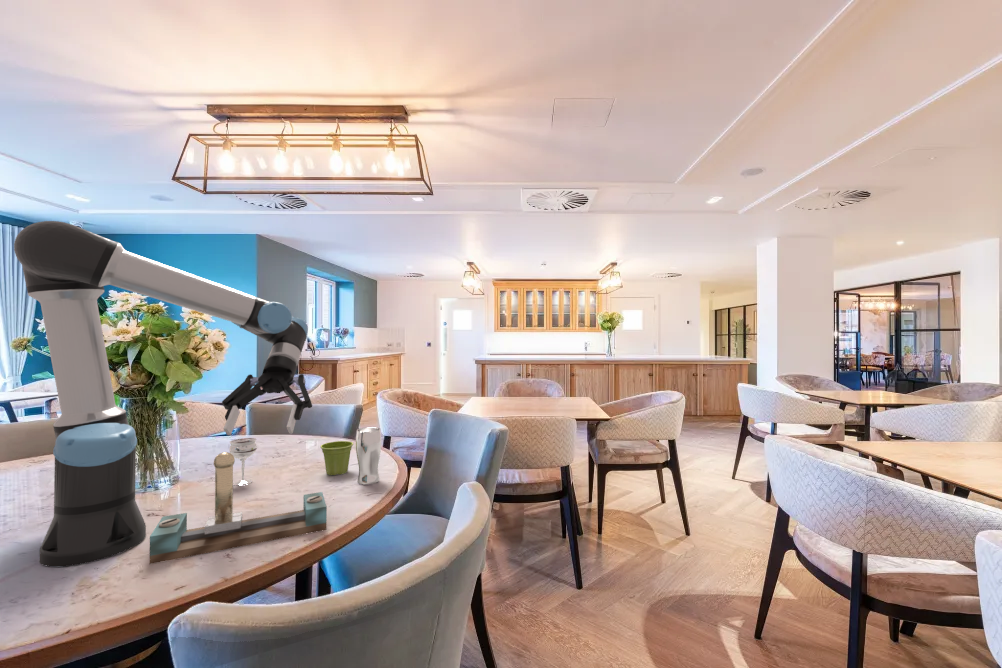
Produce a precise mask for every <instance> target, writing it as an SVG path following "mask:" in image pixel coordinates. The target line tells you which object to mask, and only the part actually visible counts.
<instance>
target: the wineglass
mask: <svg viewBox="0 0 1002 668" xmlns="http://www.w3.org/2000/svg"><path fill="white" fill-rule="evenodd" d="M256 441H257V438H254V437H245V438H243V437H242V438H237V439H233V440H230V441H229V444H230V445H229V453H231V454H232V455H233V456H234V458H235V459H238V460H239V461H240V462H241V477H242V478H241V480H238V481H234V482H233V484H234V485H233V486H236V485H239V486H244V485H243V484H246V485H248V484H247V483H250V482H252V479H245V464H246V463H245V462H246V460H247V459H248V458H250V457H251V456H253V454H254V453H256V451H257V448H258V447H257V446H258V445H257V442H256ZM252 483H253V482H252ZM250 484H251V483H250Z"/></svg>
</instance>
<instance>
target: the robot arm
mask: <svg viewBox="0 0 1002 668" xmlns="http://www.w3.org/2000/svg"><path fill="white" fill-rule="evenodd" d="M13 250H14V254H15V257H16V259H17V261H19V264H20V265H21V267H22V270H23V271H22V272H23V276H24V281H25V286H26V290H27V292H26V293H27V296H29V297H30V298H33V299H34V300H36V301H38V302H39V304H40V306H41V307H40V308H41V313H42V318H43V323H44V329H45V333H46V339H47V345H48V350H49V355H50V360H51V365H52V371H53V376H54V382H55V386H56V391H57V398H58V402H59V406H60V413H61V414H60V417H58V419H57V420H56V421H55V422H54V423H53V432H54V436H55V442H54V447H53V449H52V451H53V452H52V454H53V456H54V477H53V478H54V483H53V484H54V485H53V486H54V488H53V489H54V490H53V516H52V517H53V518H52V520H51V522H50V525H49V527H48V529H47V531H46V534H45V536H44V538H43V541H42V543H41V546H40V548H39V563H40V564H41V565H42V564H43V565H42V566H44V565H47V566H46V567H50V566H63V567H69V566H79V565H82V564H89V563H92V562H96V561H100V560H104V559H107V558H110V557H113V556H116V555H119V554H121V553H124V552H125V551H127V550H128V551H129V550H130V549H132V548H134V547H136V546H137V545H138V544H141V542H143V541H144V539H145V538H146V536H147V525H146V522H145V519H144V518H143V516H142V513H141V510H140V507H139V506H138V503H137V501H136V470H137V469H136V466H137V465H136V464H137V463H136V462H137V461H136V459H137V457H136V456H137V453H136V452H137V449H136V448H137V445H138V439H137V434H136V430H135V428H134V427H133V426H132V425H129V421H128V415H127V410H126V409H124V408H122V407H120V406H118V405H117V404H116V399H115V394H114V388H113V383H112V378H111V372H110V371H111V370H110V367H109V366H110V365H109V361H108V355H107V350H106V344H105V338H104V334H103V328H102V322H101V316H100V311H99V304H98V299H99V298H100V297H101V296H102V295H103V294H104V293H105V287H104V286H109V285H110V286H113V287H116V288H119V289H123V290H126V291H130V292H133V293H135V294H140V295H142V296H146V297H149V298H152V299H156V300H159V301H162V302H165V303H168V304H172V305H175V306H177V307H178V306H179V307H182V308H186V309H188V310H192V311H195V312H199V313H202V314H206V315H209V316H212V317H215V318H218V319H221V320H225V321H228V322H231V323H232V324H234V325H236V326H237V327H239V328H240V329H242V330H245V331H247V332H248V333H251V334H253V335H254V336H257V337H258V338H261V339H263V340H264V341H266V342H268V343H270V344H272V346H271V350H270V352H269V354H268V357H267V359H266V362H265V365H264V367H263V369H262V374H260V376H259V377H258V376H253V374H248V375H247V376H246V378H245V379H244V381H243V382H242V383H241V384H239V386H237V387H236V388H235V389H234V390H233V391H232V392H231V393H230V394H228V395H227V396H226V397H225V398H224V399H223V400H222V401H221V404H222V406H223V407H224V409H225V410H227V411H226V413H225V416H224V419H225V421H226V422H225V424H224V427H223V431H224V432H225V434H226V436H231V435H232V433H233V430H234V428H235V426H236V423H237V421H238V418H239V416H240V413H241V412H240V409H241V408H243V407H245V406H246V405H248V404H249V403H250V402H252V401H253V400H255V399H256V398H258V397H259V396H260V397H261V396H263V395H265V394H266V393H267V394H274V393H275V394H281V393H282V392H284V394H285V395H286V396H288V397H289V399H290V400H291V401H292V403H293V404H292V407H291V411H290V413H289V418H288V420H287V423H286V429H287V431H288V433H289V434H293V433H294V429H295V427H296V426H295V425H296V423H297V421H300V420H301V418H302V415H303V411H304V410H305V409H306V408H308V409H311V408H312V407H313V404H312V401H311V397H310V395H309V393H308V390H307V387H306V379H305V376H304V374H303V373H300V374H299V375H298V376H295V374H296V371H297V369H298V365H299V361H300V357H301V356H302V352H303V348H304V346H305V343H306V341H307V336H308V334H309V333H308V332H309V327H308V324H307V323H306V322H305V320H304V319H302V318H300V317H295V316H293V314H292V312H291V310H290V309H289V307H288V306H287V305H286V304H284V303H281V302H277V301H268V300H266V299H264V298H260V297H258V296H257V297H256V296H254V295H251V294H250V293H249V294H248V293H247V292H243V291H242V290H237V289H235V288H232V287H229V286H226V285H223V284H222V283H218V282H215V281H212V280H209V279H207V278H203V277H201V276H198V275H195V274H193V273H189V272H186V271H184V270H181V269H179V268H175V267H173V266H169V265H167V264H165V263H164V264H163V263H161V262H159V261H156V260H153V259H150V258H147V257H144V256H141V255H138V254H136V253H134V252H130V251H127V250H126V249H125V248H124V246H123V245H122V244H121V243H120V242H118V241H114V240H112V239H110V238H106V237H104V236H102V235H99V234H97V233H94V232H91V231H89V230H87V229H84V228H82V227H80V226H77V225H75V224H71V223H68V222H63V221H59V220H57V221H56V220H44V221H37V222H35V223H32V224H29V225H27V226H26V227H24V228H22V229H21V230H20V231H19V233H17V235H16V237H15V239H14V243H13ZM294 383H295V384H296V385H297V386H298V387H299V390H300V391H301V393H302V397H303V400H302V399H301V398H299V396H298V395H297V394H296V392H295V391H294V390H293V389H292V388H291V386H292V385H293V384H294ZM261 388H262V389H261Z"/></svg>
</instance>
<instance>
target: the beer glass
mask: <svg viewBox="0 0 1002 668" xmlns="http://www.w3.org/2000/svg"><path fill="white" fill-rule="evenodd" d="M355 438H356V439H355V451H356V452H355V453H356V458H357V465H358V477H357V484H358V483H359V485H360V484H363V485H362V486H368V485H367V484H371V485H375V484H378V483H379V482H380V474H379V462H380V457H381V456H380V455H381V451H382V433H381V428H380V427H376V426H375V427H373V426H371V427H362V428H358V429H356V436H355Z"/></svg>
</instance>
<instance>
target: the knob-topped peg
mask: <svg viewBox="0 0 1002 668" xmlns="http://www.w3.org/2000/svg"><path fill="white" fill-rule="evenodd" d="M235 459H236V458H235V457H234V456H233V455H232V454H231V453H230V452H227V451H225V452H221V453H219V454H217V455H216V456H215V457H214V459H213V466H214V469H215V470H214V474H215V475H214V479H215V480H214V482H215V483H214V516H209V517H208V518H207V519H206V522H205V525H204V527H205V534H210V533H216V532H221V531H227V530H233V529H238V528H241V523H242V520H243V511H241V512H234V511H233V506H234V505H233V503H234V501H233V499H234V497H233V496H234V493H233V491H234V489H233V488H234V487H233V486H234V485H233V483H234V482H233V481H234V464H235ZM233 512H234V513H233Z"/></svg>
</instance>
